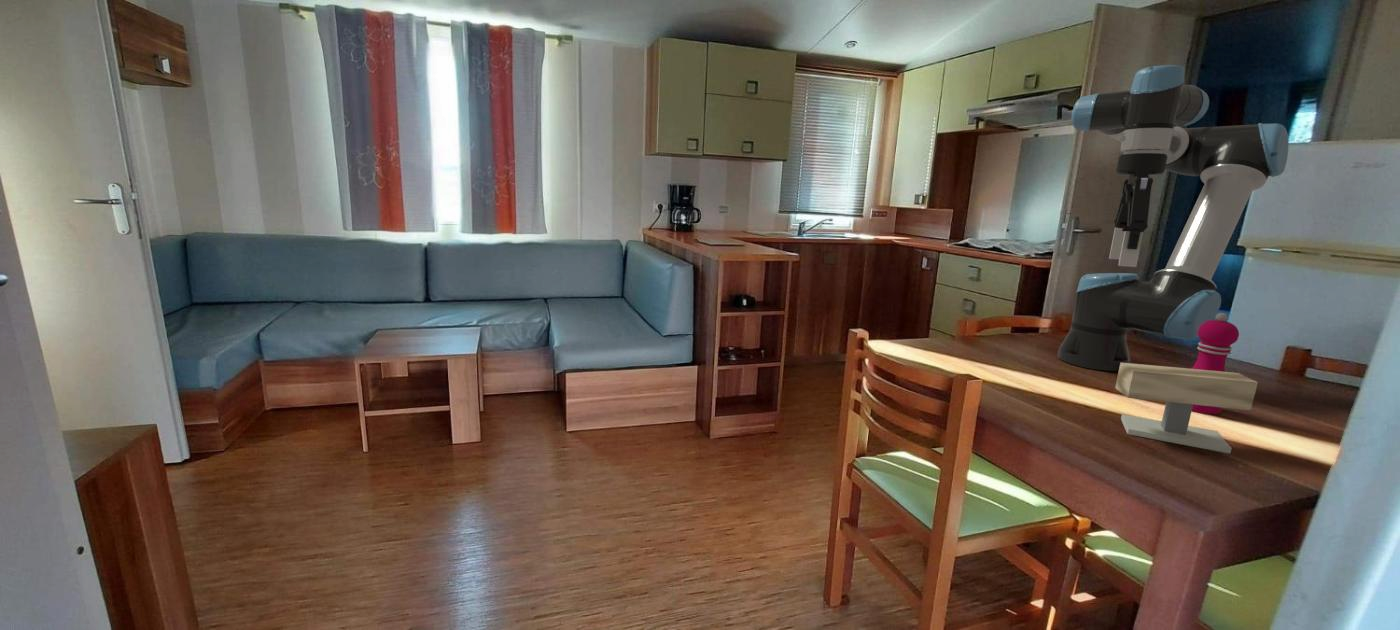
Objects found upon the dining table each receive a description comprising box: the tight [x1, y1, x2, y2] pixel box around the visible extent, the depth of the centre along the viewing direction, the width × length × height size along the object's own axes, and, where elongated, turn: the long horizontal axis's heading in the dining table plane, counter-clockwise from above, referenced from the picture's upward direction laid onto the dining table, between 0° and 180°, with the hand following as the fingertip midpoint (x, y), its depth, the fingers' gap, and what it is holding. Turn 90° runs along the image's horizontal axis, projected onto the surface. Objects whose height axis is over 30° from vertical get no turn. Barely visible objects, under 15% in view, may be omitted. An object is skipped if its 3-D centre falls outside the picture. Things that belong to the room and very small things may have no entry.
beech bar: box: [1115, 362, 1259, 411], centre depth 98 cm, size 5×18×5 cm, turn 75°
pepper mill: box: [1191, 312, 1240, 415], centre depth 111 cm, size 7×7×20 cm
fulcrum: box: [1120, 402, 1233, 454], centre depth 100 cm, size 8×14×7 cm, turn 60°
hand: (1121, 262), depth 112 cm, fingers open, 13 cm apart
